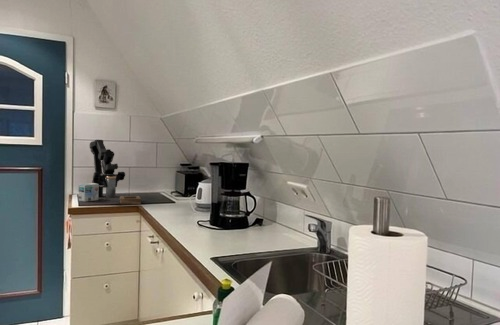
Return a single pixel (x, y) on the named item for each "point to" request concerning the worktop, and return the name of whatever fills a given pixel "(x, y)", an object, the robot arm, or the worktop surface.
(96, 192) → the light bulb box
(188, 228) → the worktop surface
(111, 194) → the canister
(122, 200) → the holder
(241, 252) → the worktop surface
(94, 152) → the robot arm
